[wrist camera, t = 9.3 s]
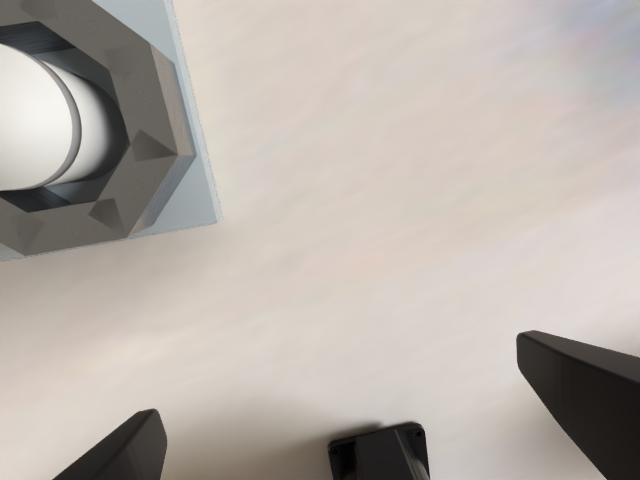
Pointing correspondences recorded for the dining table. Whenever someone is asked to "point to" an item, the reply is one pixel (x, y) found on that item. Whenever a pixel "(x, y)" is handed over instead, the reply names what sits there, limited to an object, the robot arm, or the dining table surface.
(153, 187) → the steel ring
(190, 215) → the piston base
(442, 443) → the dining table surface
